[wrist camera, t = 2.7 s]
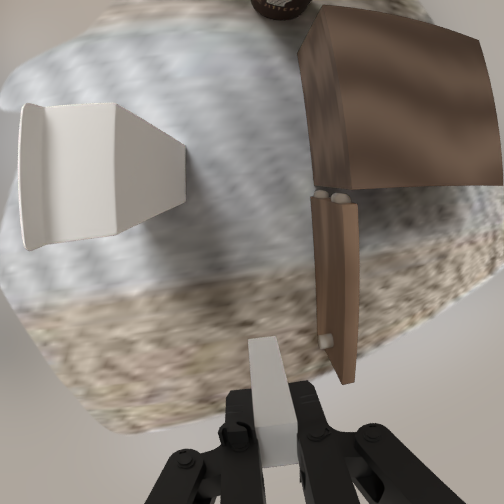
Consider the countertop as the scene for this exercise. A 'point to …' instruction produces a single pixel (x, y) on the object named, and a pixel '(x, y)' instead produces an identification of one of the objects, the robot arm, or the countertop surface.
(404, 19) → the cabinet
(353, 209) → the door
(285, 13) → the coffee mug
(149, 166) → the milk
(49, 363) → the countertop surface
